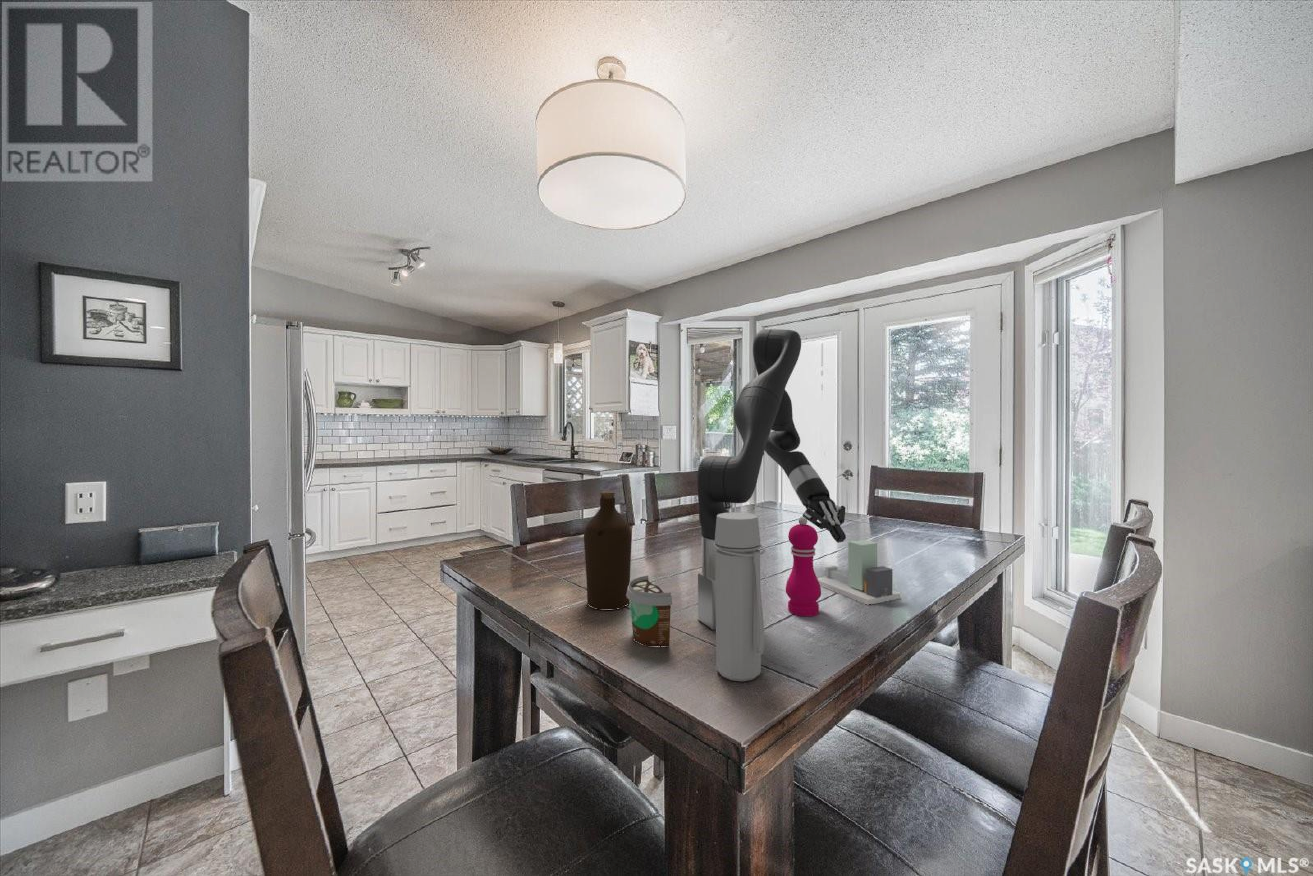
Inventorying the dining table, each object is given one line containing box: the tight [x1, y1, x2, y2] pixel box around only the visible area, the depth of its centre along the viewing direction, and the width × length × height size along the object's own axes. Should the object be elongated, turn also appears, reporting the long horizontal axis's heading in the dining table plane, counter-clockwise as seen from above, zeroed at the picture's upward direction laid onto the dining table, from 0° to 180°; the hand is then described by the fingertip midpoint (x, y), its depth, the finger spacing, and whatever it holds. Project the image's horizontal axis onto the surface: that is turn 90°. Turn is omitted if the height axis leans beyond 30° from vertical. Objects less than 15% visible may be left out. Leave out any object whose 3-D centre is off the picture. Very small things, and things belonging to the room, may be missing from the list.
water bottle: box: [714, 511, 766, 682], centre depth 78 cm, size 9×8×25 cm
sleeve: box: [847, 539, 878, 591], centre depth 116 cm, size 5×4×10 cm
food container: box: [626, 575, 673, 648], centre depth 92 cm, size 12×6×10 cm, turn 22°
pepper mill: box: [785, 516, 822, 617], centre depth 105 cm, size 7×7×20 cm
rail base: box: [817, 565, 902, 606], centre depth 119 cm, size 10×17×7 cm, turn 23°
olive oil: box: [583, 490, 633, 610], centre depth 111 cm, size 11×11×25 cm
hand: (842, 540), depth 122 cm, fingers closed
